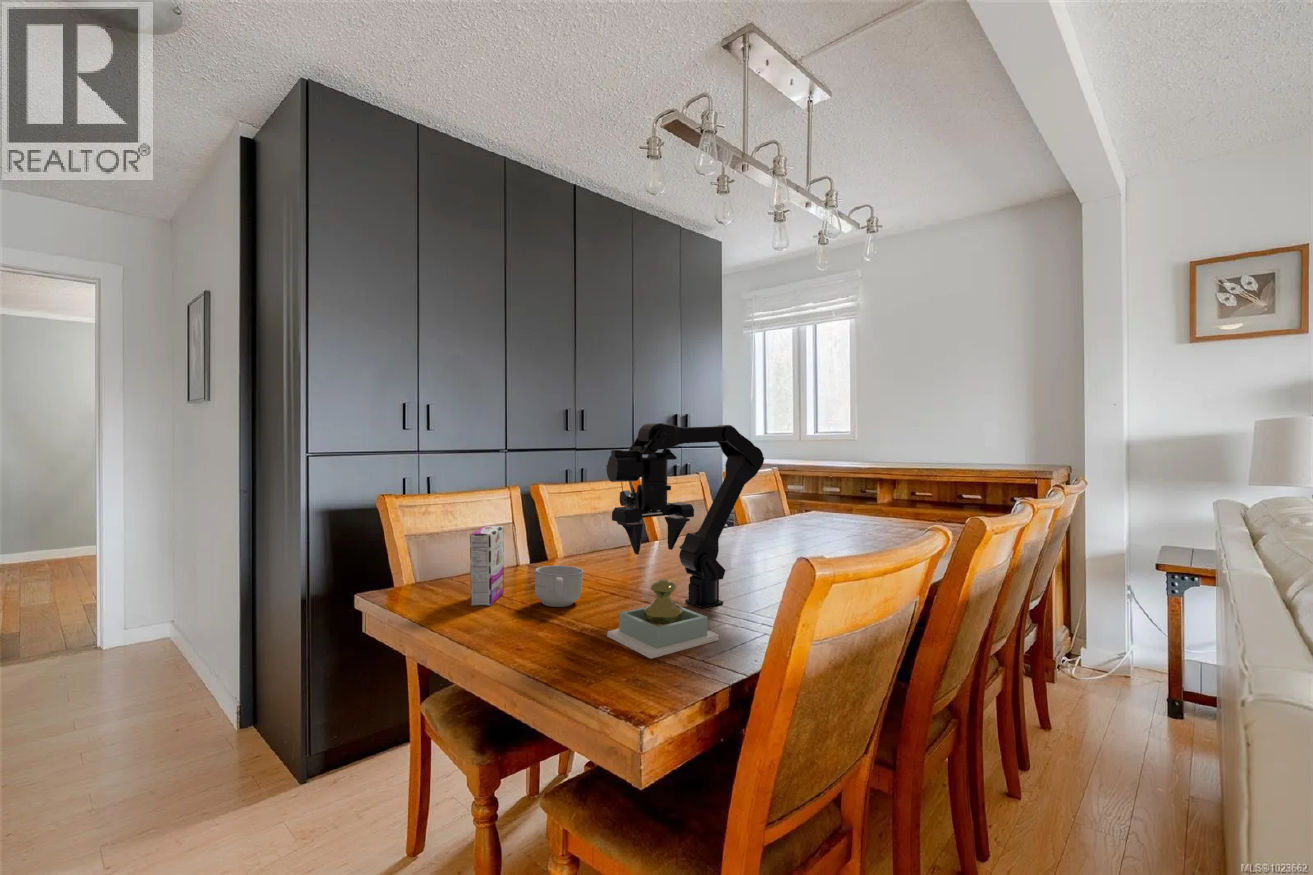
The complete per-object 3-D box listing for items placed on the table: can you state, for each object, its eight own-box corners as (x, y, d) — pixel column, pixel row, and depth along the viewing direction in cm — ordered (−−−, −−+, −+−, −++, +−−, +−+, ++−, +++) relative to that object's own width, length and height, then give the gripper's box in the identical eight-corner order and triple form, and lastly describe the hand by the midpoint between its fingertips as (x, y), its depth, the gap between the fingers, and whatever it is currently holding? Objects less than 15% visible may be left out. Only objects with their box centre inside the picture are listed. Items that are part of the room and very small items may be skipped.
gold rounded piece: (635, 632, 114) (635, 579, 114) (664, 624, 119) (664, 573, 119) (661, 642, 109) (662, 587, 109) (690, 633, 114) (690, 580, 114)
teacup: (540, 597, 142) (541, 563, 142) (586, 597, 142) (586, 563, 142) (526, 614, 128) (526, 577, 128) (576, 615, 128) (576, 578, 128)
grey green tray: (672, 621, 124) (672, 599, 124) (718, 640, 113) (719, 616, 113) (607, 636, 115) (607, 613, 115) (650, 658, 104) (650, 632, 104)
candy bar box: (483, 593, 145) (484, 525, 145) (504, 593, 145) (504, 525, 145) (468, 606, 134) (469, 533, 134) (491, 606, 134) (491, 533, 134)
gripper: (665, 476, 143) (665, 541, 143) (598, 479, 132) (598, 550, 132) (695, 479, 134) (695, 549, 134) (626, 483, 123) (626, 559, 123)
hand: (653, 551), depth 131 cm, fingers open, 9 cm apart
